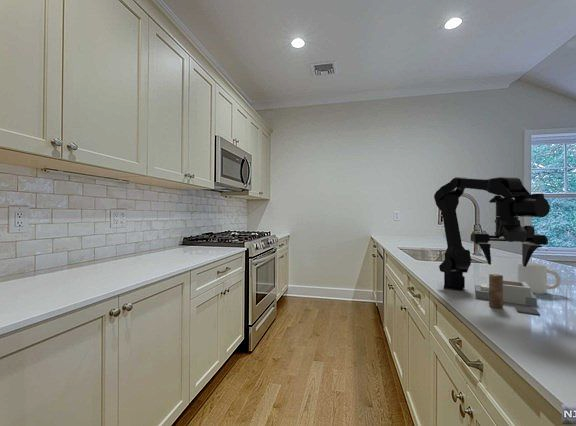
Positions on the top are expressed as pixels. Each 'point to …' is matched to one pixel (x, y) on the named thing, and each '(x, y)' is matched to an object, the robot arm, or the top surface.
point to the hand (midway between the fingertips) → (506, 265)
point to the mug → (537, 277)
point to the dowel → (496, 291)
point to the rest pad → (527, 310)
